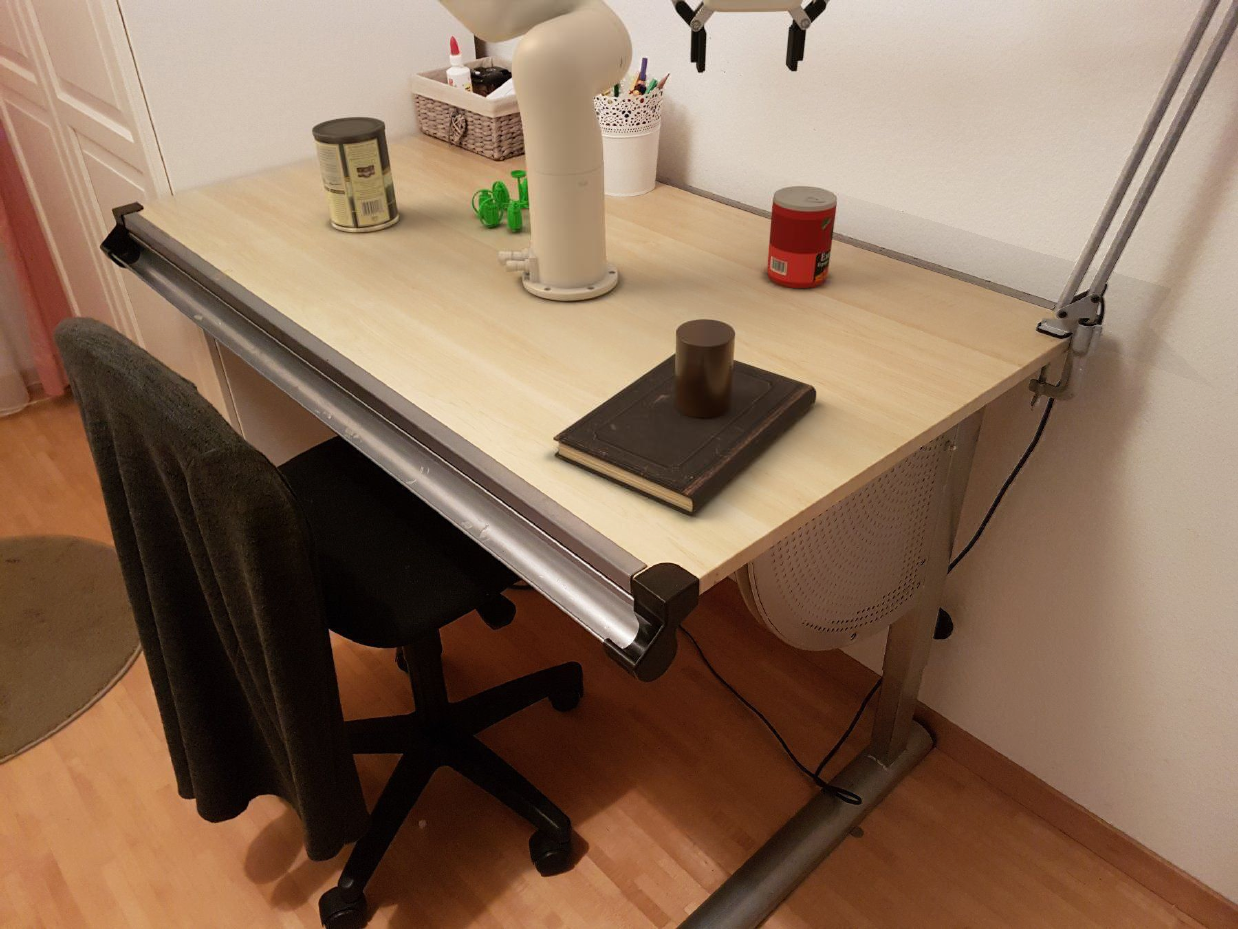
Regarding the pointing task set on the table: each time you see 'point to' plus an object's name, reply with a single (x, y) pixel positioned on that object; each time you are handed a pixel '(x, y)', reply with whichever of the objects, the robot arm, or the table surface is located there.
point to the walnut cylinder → (704, 368)
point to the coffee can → (356, 173)
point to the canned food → (801, 236)
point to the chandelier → (503, 203)
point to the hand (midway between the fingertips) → (745, 69)
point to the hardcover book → (682, 434)
